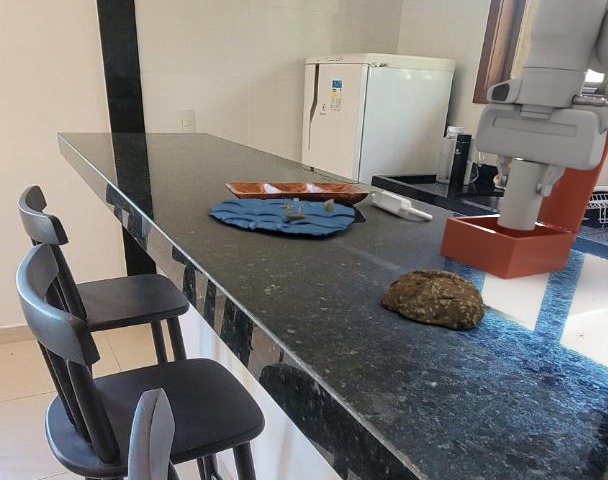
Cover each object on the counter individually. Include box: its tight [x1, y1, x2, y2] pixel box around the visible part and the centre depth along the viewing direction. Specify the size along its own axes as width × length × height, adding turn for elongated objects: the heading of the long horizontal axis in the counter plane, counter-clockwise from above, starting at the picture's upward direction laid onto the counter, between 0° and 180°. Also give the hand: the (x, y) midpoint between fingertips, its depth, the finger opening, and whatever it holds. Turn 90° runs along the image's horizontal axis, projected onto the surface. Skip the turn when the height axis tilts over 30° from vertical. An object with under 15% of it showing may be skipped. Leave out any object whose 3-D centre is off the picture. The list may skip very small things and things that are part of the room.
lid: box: [536, 129, 608, 232], centre depth 87 cm, size 16×14×1 cm
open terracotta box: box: [439, 214, 576, 280], centre depth 88 cm, size 16×14×7 cm
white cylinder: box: [497, 158, 550, 230], centre depth 84 cm, size 6×6×10 cm
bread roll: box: [380, 268, 486, 330], centre depth 67 cm, size 13×12×5 cm
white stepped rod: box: [371, 190, 433, 221], centre depth 122 cm, size 20×8×4 cm, turn 23°
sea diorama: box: [208, 197, 355, 236], centre depth 103 cm, size 30×30×5 cm
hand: (522, 191), depth 84 cm, fingers closed on white cylinder, 6 cm apart
